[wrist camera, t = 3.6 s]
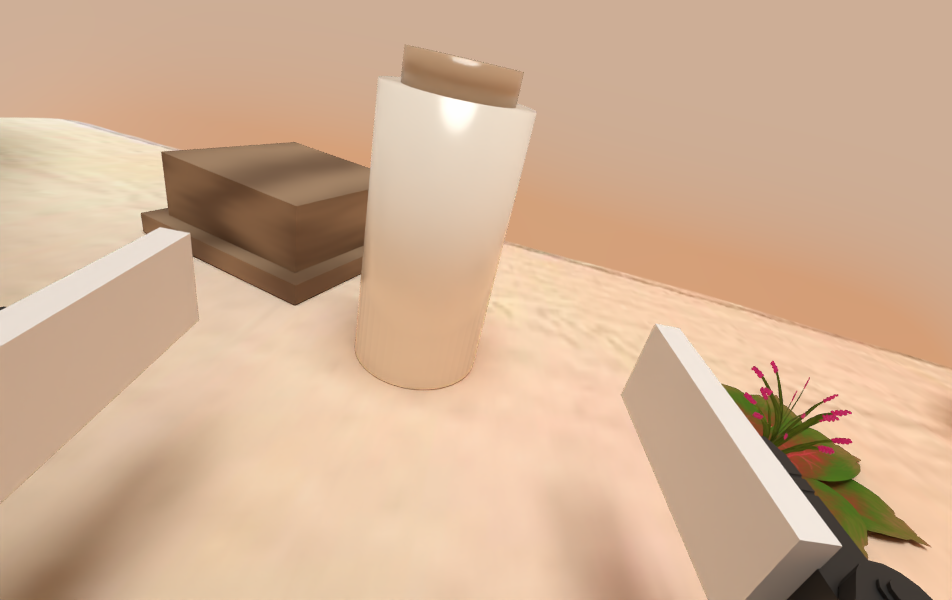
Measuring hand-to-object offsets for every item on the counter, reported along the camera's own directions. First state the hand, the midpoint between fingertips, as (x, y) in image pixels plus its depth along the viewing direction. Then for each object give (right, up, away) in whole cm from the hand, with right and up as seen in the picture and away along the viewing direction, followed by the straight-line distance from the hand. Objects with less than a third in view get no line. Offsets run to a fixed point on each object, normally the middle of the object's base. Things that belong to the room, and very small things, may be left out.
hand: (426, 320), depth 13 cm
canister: (-2, -2, +10) cm, 10 cm away
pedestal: (-11, +5, +18) cm, 21 cm away
